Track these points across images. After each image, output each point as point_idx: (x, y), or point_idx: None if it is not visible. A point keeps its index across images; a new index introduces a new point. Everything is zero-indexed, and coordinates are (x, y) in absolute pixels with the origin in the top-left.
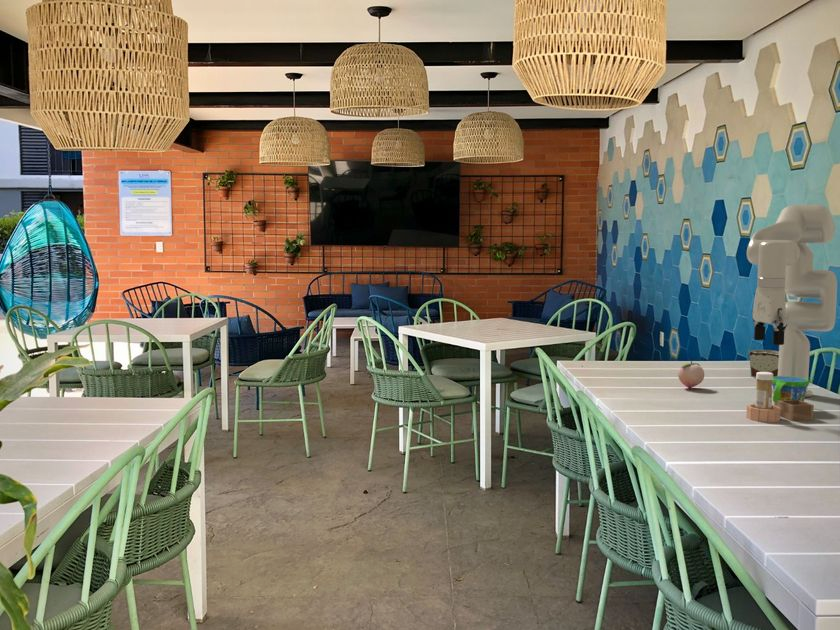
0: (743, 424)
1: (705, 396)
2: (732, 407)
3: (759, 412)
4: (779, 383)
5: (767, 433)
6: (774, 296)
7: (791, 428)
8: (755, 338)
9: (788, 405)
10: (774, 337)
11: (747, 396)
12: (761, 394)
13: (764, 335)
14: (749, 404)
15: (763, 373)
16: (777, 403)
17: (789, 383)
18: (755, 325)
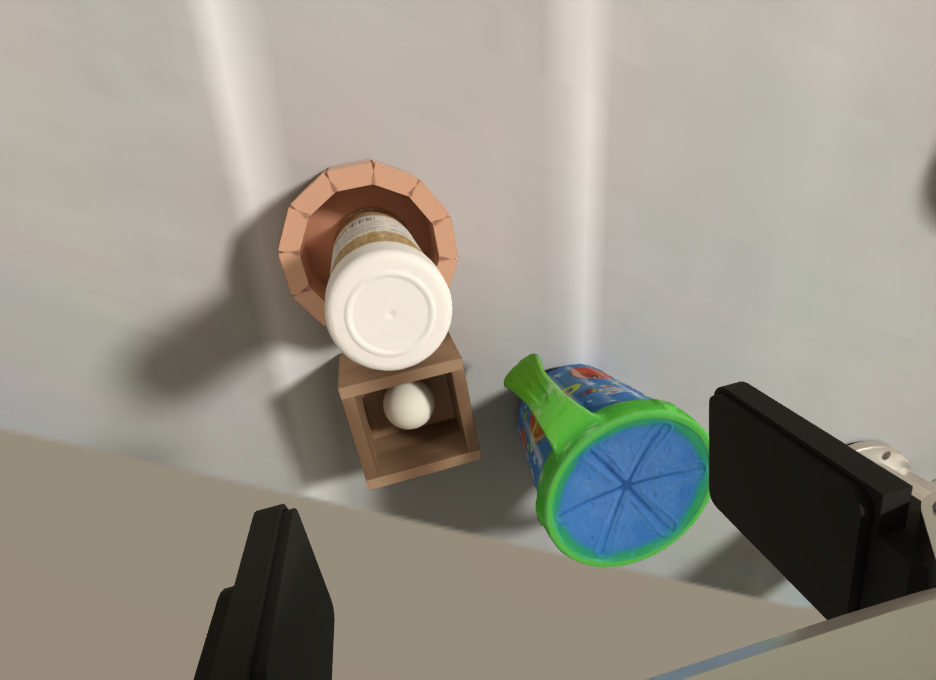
0: (251, 101)
1: (882, 136)
2: (647, 188)
3: (291, 205)
4: (567, 421)
5: (41, 159)
6: None
7: (208, 321)
8: (727, 397)
9: (363, 379)
10: (236, 598)
11: (840, 331)
12: (339, 246)
13: (744, 528)
14: (428, 196)
15: (350, 293)
16: (457, 351)
17: (549, 467)
18: (932, 515)
